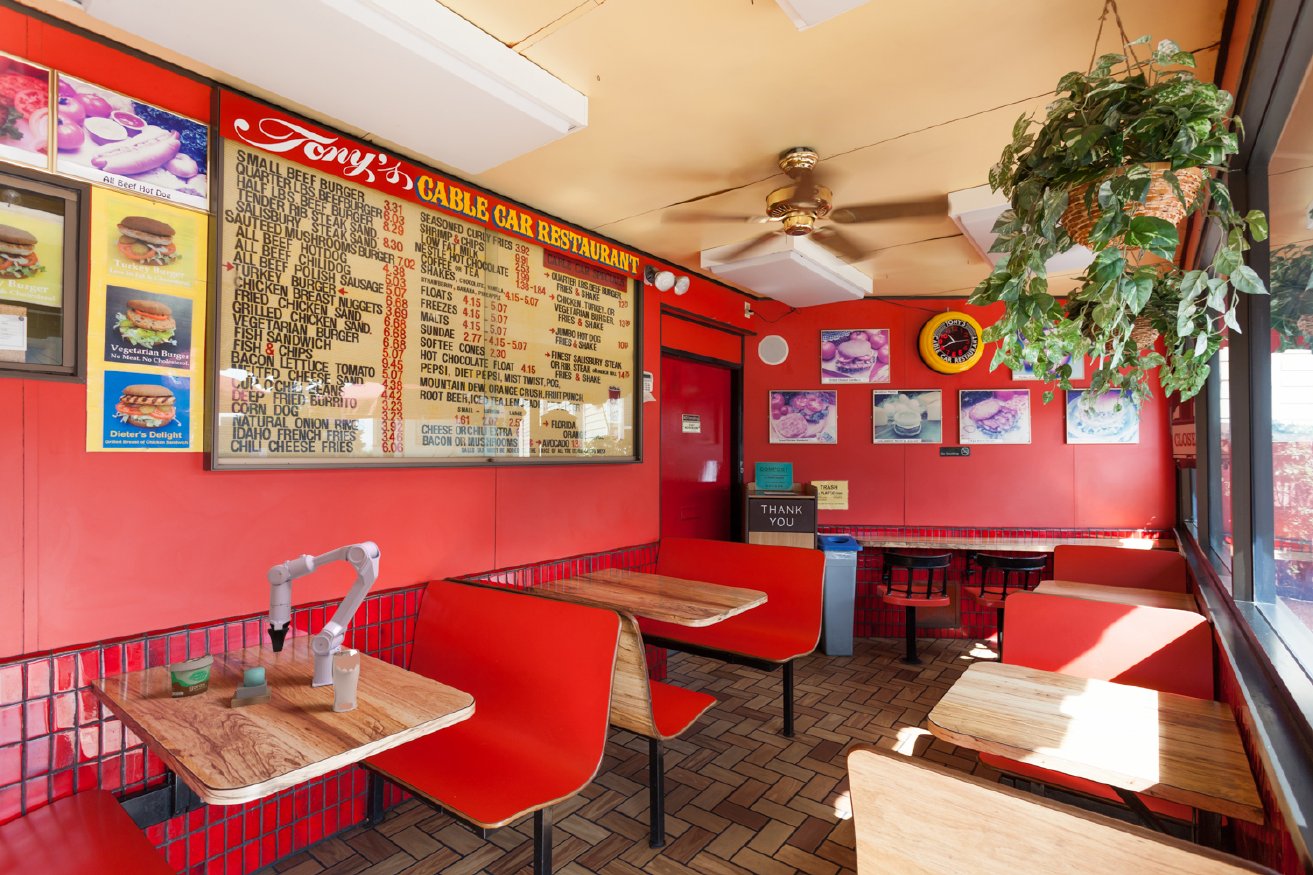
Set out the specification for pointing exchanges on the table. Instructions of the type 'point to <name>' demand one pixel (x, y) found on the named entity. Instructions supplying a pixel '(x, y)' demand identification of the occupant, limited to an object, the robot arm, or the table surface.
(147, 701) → the table surface
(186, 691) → the food container
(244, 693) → the tower top
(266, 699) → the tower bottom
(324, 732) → the table surface
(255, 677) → the teal domed cylinder
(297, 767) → the table surface
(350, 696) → the beer glass
